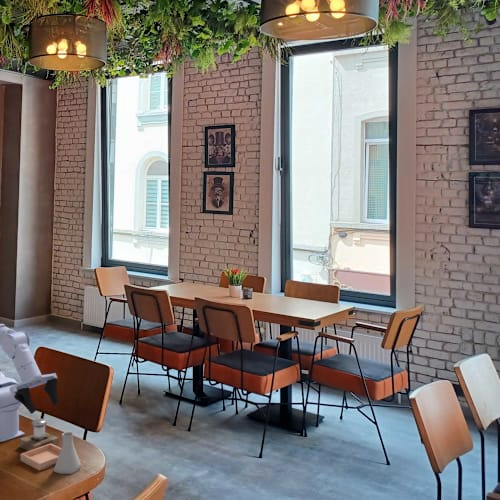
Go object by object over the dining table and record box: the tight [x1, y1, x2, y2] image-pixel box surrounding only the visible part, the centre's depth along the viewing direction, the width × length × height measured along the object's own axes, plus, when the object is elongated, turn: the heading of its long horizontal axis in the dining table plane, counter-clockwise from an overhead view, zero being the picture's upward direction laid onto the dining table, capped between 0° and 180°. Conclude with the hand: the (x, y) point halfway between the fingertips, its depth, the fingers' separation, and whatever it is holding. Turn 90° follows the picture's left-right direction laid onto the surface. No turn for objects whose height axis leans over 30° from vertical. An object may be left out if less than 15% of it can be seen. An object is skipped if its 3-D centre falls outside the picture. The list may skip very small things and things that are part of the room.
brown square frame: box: [19, 431, 60, 452], centre depth 171 cm, size 8×8×2 cm
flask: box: [53, 431, 82, 475], centre depth 157 cm, size 7×7×10 cm
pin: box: [31, 418, 48, 442], centre depth 171 cm, size 4×4×8 cm
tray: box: [20, 443, 62, 472], centre depth 162 cm, size 10×10×2 cm
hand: (45, 408), depth 167 cm, fingers open, 7 cm apart
